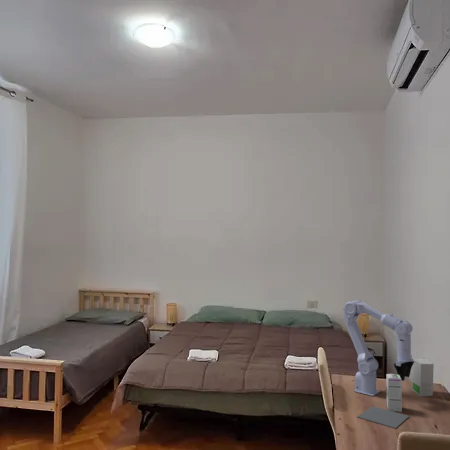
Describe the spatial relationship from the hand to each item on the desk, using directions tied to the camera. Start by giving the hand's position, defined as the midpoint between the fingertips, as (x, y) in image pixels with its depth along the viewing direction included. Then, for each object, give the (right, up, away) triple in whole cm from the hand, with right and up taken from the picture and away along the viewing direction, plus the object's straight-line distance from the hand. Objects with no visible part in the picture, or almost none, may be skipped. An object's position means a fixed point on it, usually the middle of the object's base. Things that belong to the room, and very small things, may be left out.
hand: (404, 378), depth 207 cm
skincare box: (+13, -11, +10) cm, 19 cm away
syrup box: (-8, -11, -9) cm, 16 cm away
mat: (-16, -10, -18) cm, 26 cm away
